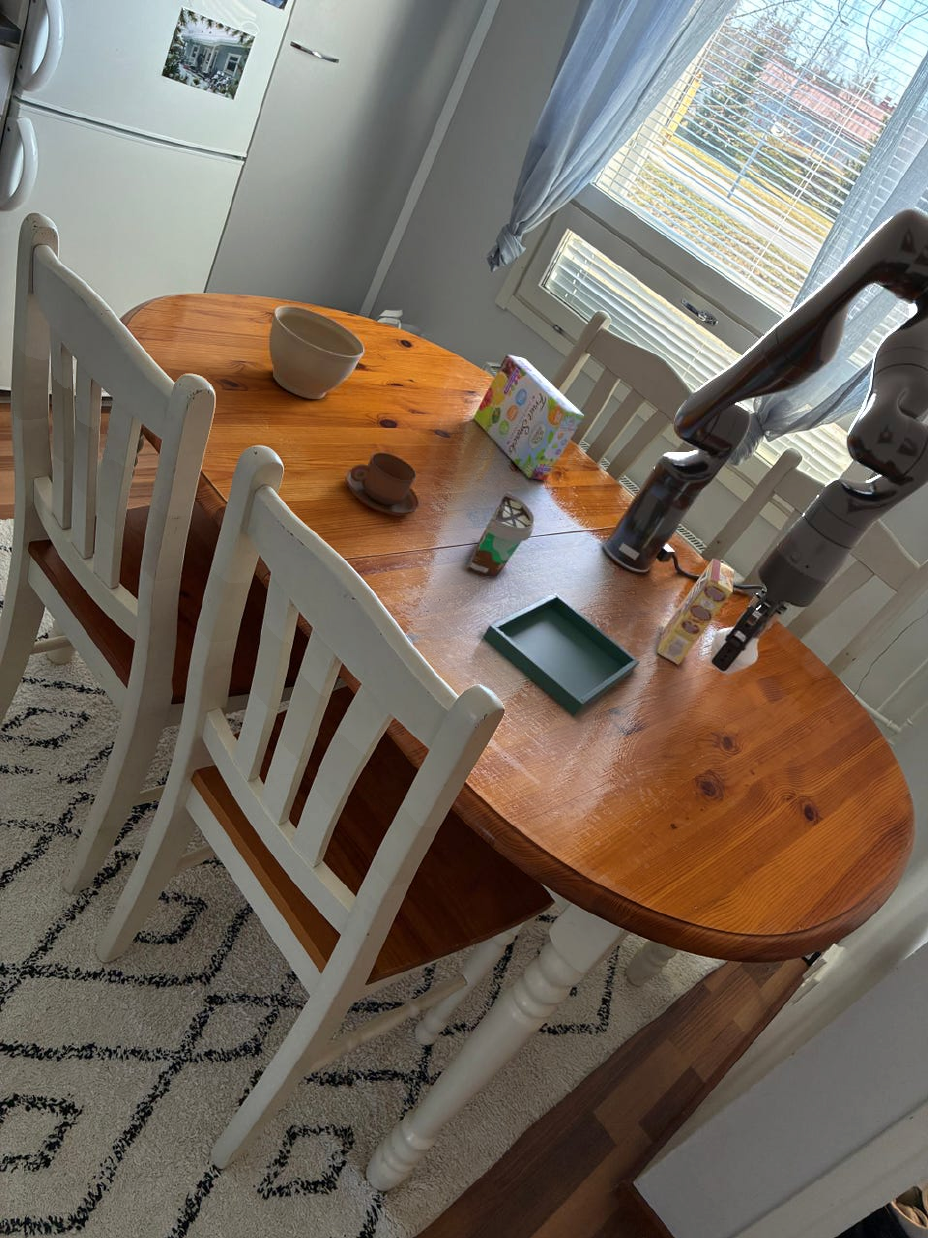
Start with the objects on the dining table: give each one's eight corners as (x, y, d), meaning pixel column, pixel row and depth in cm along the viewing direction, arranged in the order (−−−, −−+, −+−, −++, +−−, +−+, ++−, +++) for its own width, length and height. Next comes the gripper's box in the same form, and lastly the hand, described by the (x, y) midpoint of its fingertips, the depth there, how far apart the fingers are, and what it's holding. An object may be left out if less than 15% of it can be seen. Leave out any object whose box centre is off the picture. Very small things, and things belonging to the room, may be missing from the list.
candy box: (678, 666, 148) (734, 593, 141) (655, 653, 149) (710, 579, 141) (682, 641, 156) (736, 570, 148) (660, 628, 156) (713, 556, 148)
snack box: (548, 481, 183) (586, 415, 175) (527, 479, 179) (566, 411, 171) (491, 420, 194) (525, 356, 186) (471, 417, 190) (504, 351, 183)
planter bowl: (335, 422, 161) (359, 366, 155) (245, 382, 157) (266, 323, 151) (347, 388, 174) (369, 335, 168) (264, 350, 170) (284, 295, 165)
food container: (501, 593, 141) (532, 541, 136) (464, 574, 141) (494, 521, 135) (512, 557, 152) (541, 508, 146) (478, 540, 151) (507, 489, 146)
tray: (548, 603, 145) (555, 592, 144) (631, 672, 140) (640, 661, 139) (482, 637, 129) (489, 625, 128) (573, 716, 125) (582, 704, 123)
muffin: (716, 681, 120) (749, 640, 116) (692, 648, 124) (722, 608, 120) (749, 684, 123) (781, 645, 119) (724, 652, 127) (754, 613, 123)
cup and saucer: (370, 524, 140) (386, 490, 136) (328, 476, 145) (342, 442, 142) (427, 521, 148) (444, 489, 145) (385, 476, 154) (400, 444, 151)
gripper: (817, 592, 107) (732, 695, 116) (844, 566, 119) (765, 662, 127) (763, 552, 109) (684, 656, 118) (795, 531, 121) (720, 627, 130)
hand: (726, 658), depth 123 cm, fingers closed on muffin, 6 cm apart
